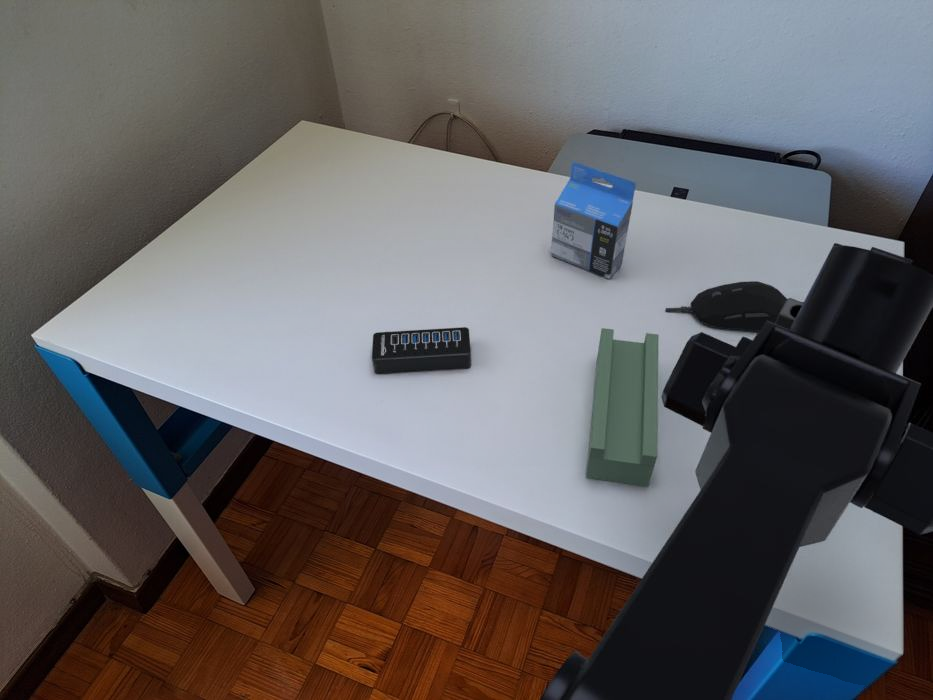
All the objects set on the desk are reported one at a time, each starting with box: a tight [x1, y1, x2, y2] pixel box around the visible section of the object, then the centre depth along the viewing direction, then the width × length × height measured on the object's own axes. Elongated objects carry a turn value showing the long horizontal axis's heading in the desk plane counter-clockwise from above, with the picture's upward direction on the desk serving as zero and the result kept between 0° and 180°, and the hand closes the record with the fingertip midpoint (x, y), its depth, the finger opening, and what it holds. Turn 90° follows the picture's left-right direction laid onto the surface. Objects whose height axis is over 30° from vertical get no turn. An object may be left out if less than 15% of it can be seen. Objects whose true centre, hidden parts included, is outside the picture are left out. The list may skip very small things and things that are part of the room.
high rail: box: [585, 327, 660, 488], centre depth 70 cm, size 16×6×5 cm, turn 168°
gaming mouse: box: [665, 280, 788, 332], centre depth 80 cm, size 6×15×4 cm, turn 84°
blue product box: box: [550, 160, 637, 280], centre depth 85 cm, size 9×4×12 cm, turn 54°
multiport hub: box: [371, 326, 472, 375], centre depth 78 cm, size 4×11×2 cm, turn 93°
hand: (804, 423), depth 55 cm, fingers open, 9 cm apart
